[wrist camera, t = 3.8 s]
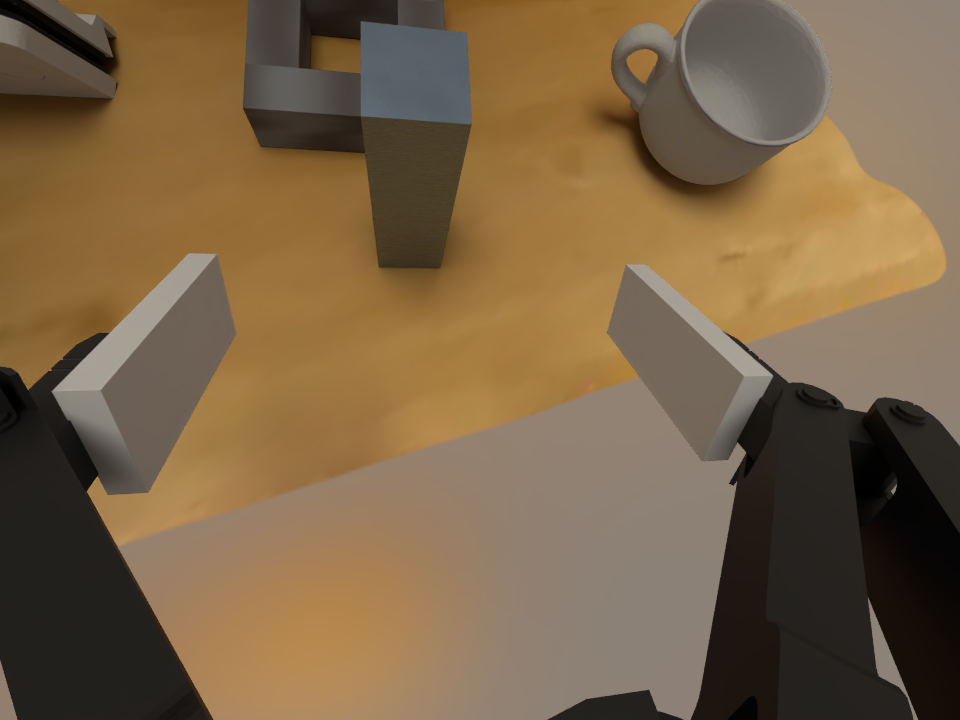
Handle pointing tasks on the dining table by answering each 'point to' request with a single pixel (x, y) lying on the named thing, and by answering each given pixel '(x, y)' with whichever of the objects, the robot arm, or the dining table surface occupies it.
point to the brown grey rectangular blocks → (307, 92)
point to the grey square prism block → (413, 137)
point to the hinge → (53, 51)
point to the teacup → (726, 87)
